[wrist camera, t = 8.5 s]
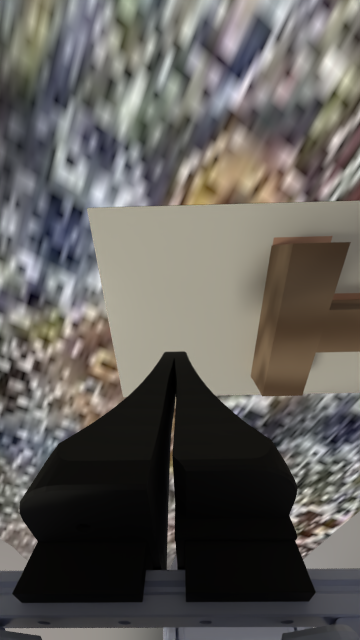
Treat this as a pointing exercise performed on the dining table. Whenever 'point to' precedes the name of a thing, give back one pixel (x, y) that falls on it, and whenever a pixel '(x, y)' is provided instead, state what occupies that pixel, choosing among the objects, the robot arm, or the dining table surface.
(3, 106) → the dining table surface
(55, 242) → the dining table surface
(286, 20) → the dining table surface
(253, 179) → the dining table surface
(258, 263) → the mat
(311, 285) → the t block
